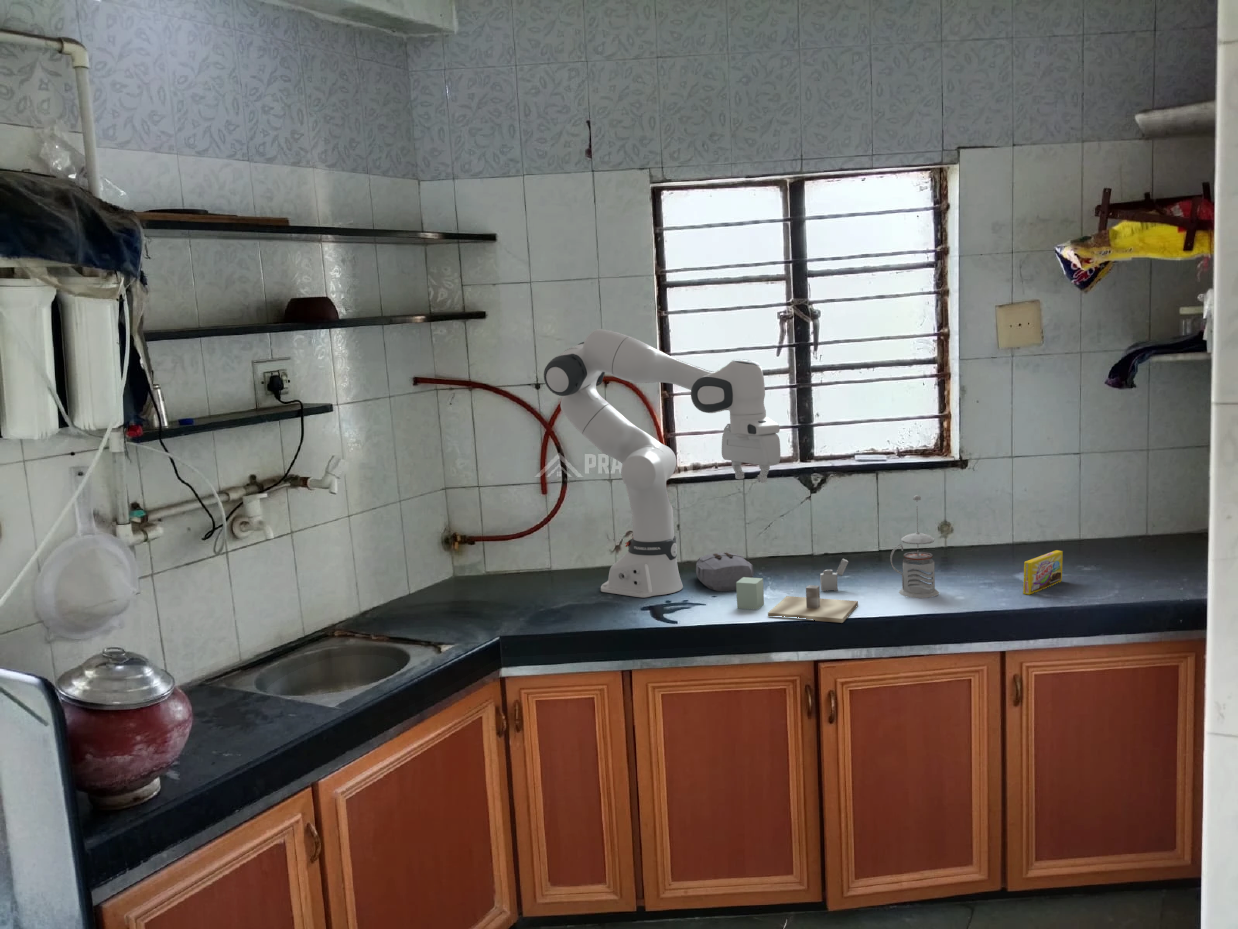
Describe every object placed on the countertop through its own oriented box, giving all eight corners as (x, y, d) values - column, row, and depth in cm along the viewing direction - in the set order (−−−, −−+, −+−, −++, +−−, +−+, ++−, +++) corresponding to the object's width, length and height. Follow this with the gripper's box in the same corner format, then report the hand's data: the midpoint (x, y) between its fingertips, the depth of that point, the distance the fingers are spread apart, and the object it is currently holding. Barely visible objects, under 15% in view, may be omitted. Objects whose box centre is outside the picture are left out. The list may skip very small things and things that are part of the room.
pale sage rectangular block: (737, 608, 246) (736, 582, 245) (744, 602, 250) (743, 577, 249) (757, 609, 243) (756, 583, 243) (764, 604, 248) (762, 578, 247)
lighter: (821, 591, 257) (820, 561, 255) (820, 589, 258) (819, 559, 257) (849, 589, 256) (848, 559, 255) (848, 588, 258) (847, 558, 257)
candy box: (1030, 596, 241) (1030, 562, 240) (1022, 594, 243) (1022, 561, 242) (1063, 582, 252) (1063, 550, 250) (1055, 580, 253) (1055, 549, 252)
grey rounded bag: (760, 588, 263) (738, 571, 283) (759, 558, 262) (737, 543, 281) (706, 594, 261) (687, 577, 280) (704, 563, 259) (685, 548, 279)
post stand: (768, 616, 237) (767, 592, 236) (786, 599, 250) (786, 576, 250) (842, 622, 229) (841, 597, 228) (858, 605, 242) (857, 581, 241)
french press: (941, 597, 244) (939, 498, 241) (892, 598, 246) (890, 499, 243) (937, 587, 253) (935, 491, 250) (890, 587, 256) (887, 492, 252)
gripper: (714, 424, 251) (716, 478, 253) (762, 428, 233) (765, 486, 235) (734, 421, 254) (737, 475, 256) (784, 425, 236) (786, 483, 238)
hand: (750, 480), depth 246 cm, fingers open, 8 cm apart
